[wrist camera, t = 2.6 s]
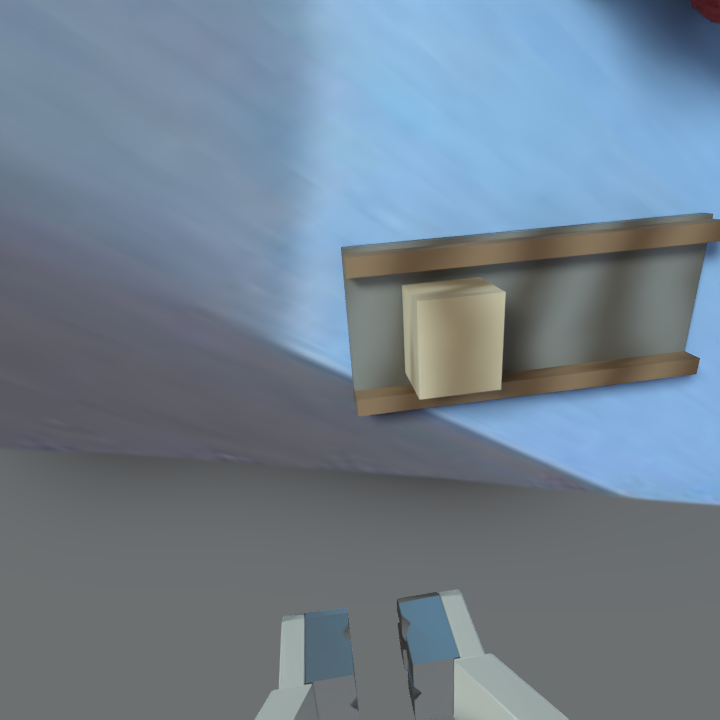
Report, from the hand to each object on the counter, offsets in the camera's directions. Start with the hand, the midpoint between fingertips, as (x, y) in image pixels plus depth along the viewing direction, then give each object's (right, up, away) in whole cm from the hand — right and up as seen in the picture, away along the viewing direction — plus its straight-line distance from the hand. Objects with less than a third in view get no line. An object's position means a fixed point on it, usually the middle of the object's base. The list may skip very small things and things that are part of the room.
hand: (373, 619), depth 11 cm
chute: (+11, +9, +21) cm, 25 cm away
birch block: (+5, +9, +20) cm, 22 cm away
